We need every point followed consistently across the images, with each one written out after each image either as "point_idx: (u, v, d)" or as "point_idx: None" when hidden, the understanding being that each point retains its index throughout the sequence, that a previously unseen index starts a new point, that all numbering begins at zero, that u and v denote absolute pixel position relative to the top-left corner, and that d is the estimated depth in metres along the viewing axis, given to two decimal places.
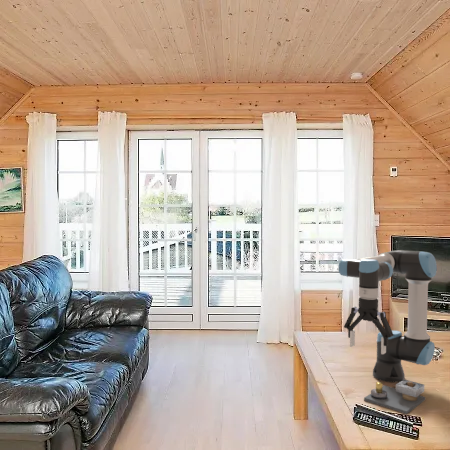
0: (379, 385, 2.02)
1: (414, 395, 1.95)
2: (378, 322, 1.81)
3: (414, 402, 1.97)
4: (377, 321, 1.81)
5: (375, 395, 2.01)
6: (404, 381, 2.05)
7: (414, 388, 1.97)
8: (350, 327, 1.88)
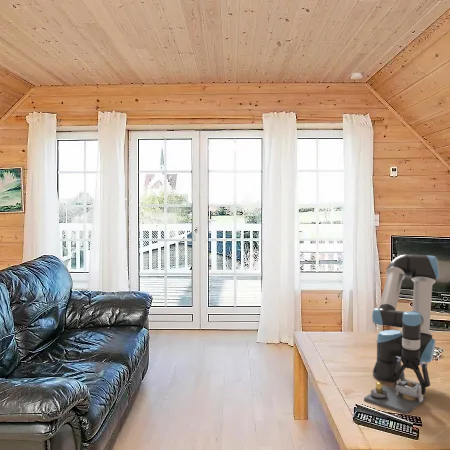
0: (379, 385, 2.02)
1: (414, 395, 1.95)
2: (418, 371, 1.98)
3: (414, 402, 1.97)
4: (418, 370, 1.98)
5: (375, 395, 2.01)
6: (404, 381, 2.05)
7: (414, 388, 1.97)
8: (396, 377, 2.04)
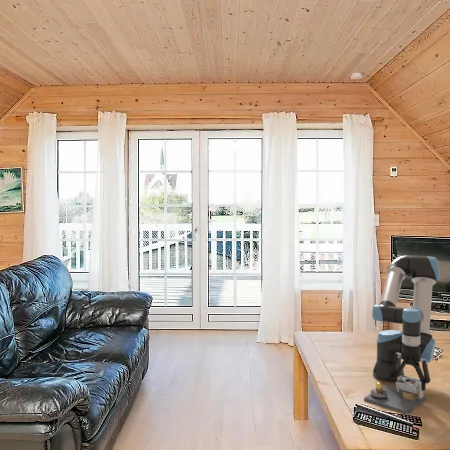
0: (379, 385, 2.02)
1: (414, 392, 1.96)
2: (419, 368, 1.98)
3: (414, 402, 1.97)
4: (418, 367, 1.98)
5: (375, 395, 2.01)
6: (404, 377, 2.05)
7: (414, 385, 1.97)
8: (397, 373, 2.04)
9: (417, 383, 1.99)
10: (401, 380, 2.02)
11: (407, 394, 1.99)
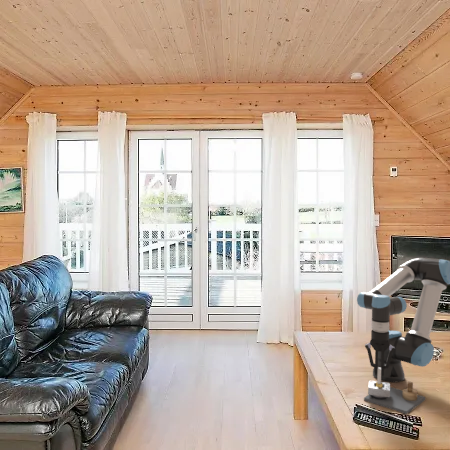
0: (379, 385, 2.02)
1: (388, 395, 1.97)
2: (384, 354, 2.02)
3: (414, 402, 1.97)
4: (384, 353, 2.01)
5: (375, 395, 2.01)
6: (371, 382, 2.06)
7: (386, 388, 1.99)
8: (376, 365, 2.02)
9: (387, 386, 2.01)
10: (371, 385, 2.02)
11: (407, 394, 1.99)
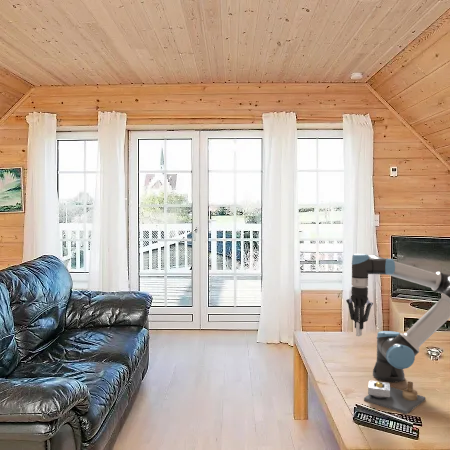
0: (379, 385, 2.02)
1: (388, 395, 1.97)
2: (362, 309, 2.15)
3: (414, 402, 1.97)
4: (362, 308, 2.15)
5: (375, 395, 2.01)
6: (371, 382, 2.06)
7: (386, 388, 1.99)
8: (355, 318, 2.17)
9: (387, 386, 2.01)
10: (371, 385, 2.02)
11: (407, 394, 1.99)
